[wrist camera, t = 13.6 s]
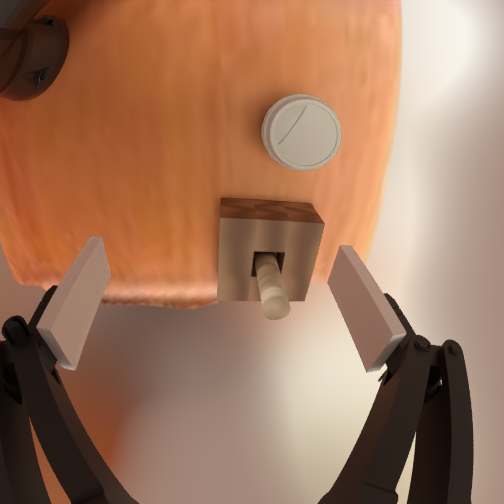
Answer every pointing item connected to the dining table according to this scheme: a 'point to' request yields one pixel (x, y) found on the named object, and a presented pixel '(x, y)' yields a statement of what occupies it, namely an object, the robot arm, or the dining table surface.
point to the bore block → (266, 245)
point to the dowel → (271, 286)
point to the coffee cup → (301, 132)
